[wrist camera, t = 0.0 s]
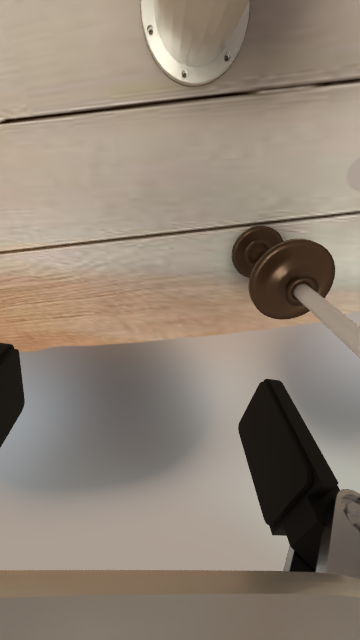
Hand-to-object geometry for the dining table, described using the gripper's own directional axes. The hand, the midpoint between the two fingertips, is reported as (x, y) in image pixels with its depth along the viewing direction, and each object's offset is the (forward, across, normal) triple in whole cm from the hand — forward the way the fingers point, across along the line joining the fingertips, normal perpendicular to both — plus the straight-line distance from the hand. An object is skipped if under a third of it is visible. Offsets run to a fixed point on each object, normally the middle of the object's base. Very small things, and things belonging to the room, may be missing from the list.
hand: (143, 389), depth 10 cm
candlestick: (+37, -18, +1) cm, 41 cm away
